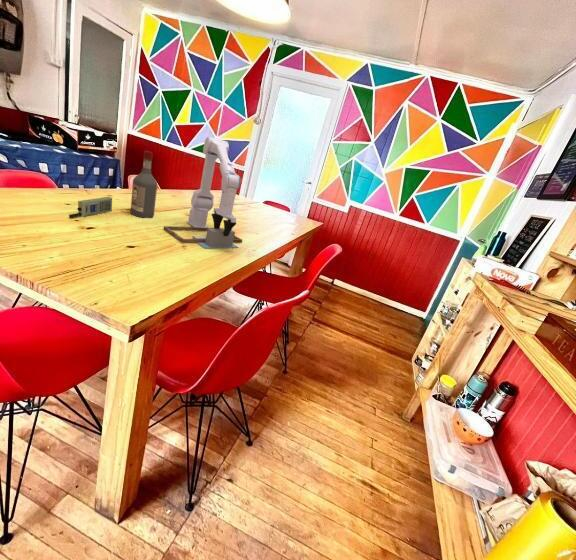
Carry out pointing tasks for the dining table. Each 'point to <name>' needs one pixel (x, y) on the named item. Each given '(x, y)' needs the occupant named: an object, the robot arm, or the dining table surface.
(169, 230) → the dark rectangular frame
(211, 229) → the grey rectangular block
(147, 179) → the liquor
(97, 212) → the handheld radio
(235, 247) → the blue mat
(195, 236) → the offcut stack
